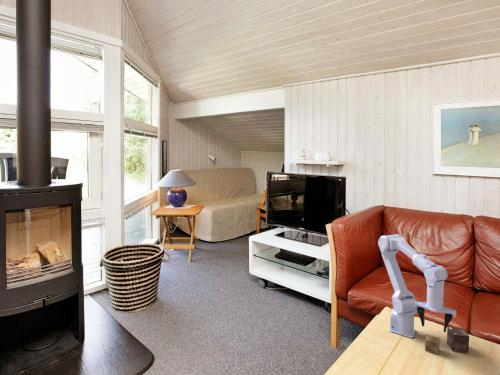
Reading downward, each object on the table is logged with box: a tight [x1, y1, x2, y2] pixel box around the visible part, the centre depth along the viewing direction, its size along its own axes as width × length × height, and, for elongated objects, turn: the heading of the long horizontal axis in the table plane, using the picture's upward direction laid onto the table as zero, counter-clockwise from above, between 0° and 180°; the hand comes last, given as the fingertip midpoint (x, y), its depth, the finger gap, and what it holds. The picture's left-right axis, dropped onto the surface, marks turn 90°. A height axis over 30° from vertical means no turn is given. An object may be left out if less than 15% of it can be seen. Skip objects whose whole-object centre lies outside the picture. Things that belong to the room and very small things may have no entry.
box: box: [446, 326, 470, 354], centre depth 129 cm, size 6×6×7 cm
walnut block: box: [424, 334, 441, 356], centre depth 128 cm, size 4×4×5 cm
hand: (433, 328), depth 127 cm, fingers open, 7 cm apart
